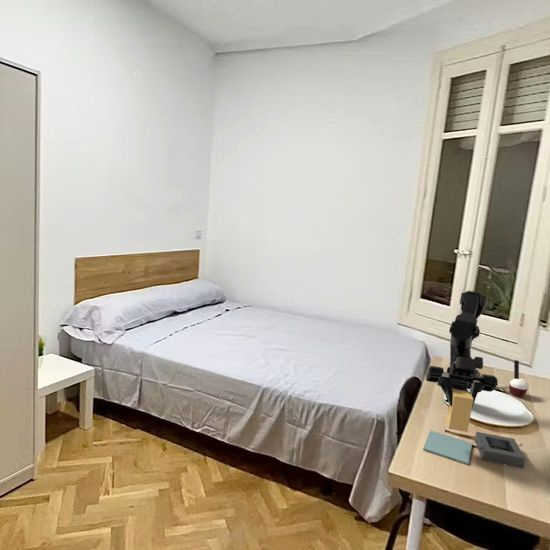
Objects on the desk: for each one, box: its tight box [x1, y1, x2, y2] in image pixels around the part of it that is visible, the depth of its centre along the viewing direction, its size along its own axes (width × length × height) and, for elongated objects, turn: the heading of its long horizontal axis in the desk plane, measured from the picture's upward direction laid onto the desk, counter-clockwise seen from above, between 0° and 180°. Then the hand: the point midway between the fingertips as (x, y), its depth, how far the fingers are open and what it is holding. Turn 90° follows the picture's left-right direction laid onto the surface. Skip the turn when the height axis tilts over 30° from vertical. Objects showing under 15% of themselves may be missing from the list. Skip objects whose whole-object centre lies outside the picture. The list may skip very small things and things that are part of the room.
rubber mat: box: [422, 429, 473, 465], centre depth 131 cm, size 12×12×1 cm
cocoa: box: [508, 359, 530, 398], centre depth 172 cm, size 10×6×12 cm, turn 156°
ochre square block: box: [445, 389, 473, 433], centre depth 128 cm, size 5×5×10 cm
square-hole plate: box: [474, 431, 526, 469], centre depth 129 cm, size 10×10×3 cm
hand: (461, 406), depth 126 cm, fingers closed on ochre square block, 5 cm apart
